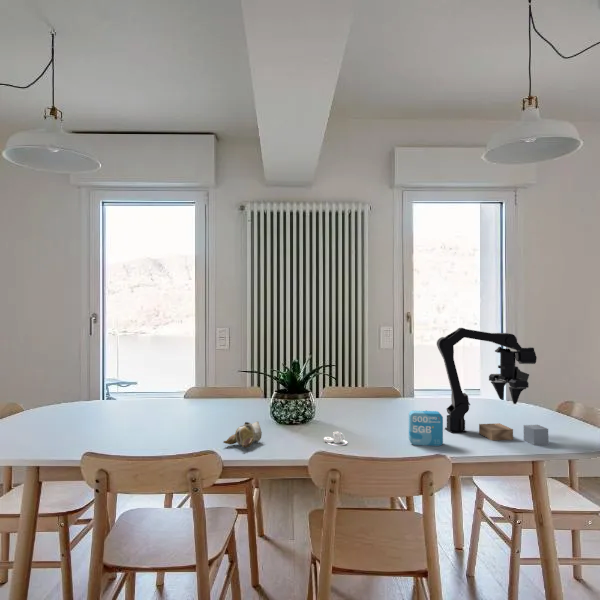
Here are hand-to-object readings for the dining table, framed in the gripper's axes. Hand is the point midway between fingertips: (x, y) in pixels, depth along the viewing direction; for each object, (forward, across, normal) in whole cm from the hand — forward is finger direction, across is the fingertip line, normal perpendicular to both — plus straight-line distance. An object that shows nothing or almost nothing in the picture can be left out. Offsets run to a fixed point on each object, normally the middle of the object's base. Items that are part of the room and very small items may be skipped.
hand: (507, 401), depth 184 cm
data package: (+13, -9, +40) cm, 43 cm away
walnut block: (+13, -4, +8) cm, 16 cm away
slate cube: (+13, -13, -3) cm, 19 cm away
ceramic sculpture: (+13, -1, +107) cm, 108 cm away
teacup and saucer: (+14, 0, +73) cm, 74 cm away
